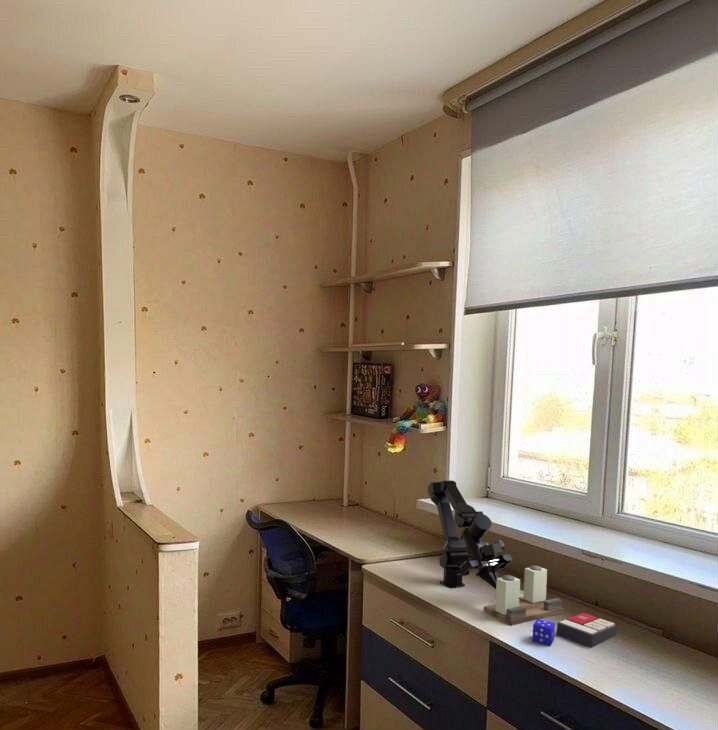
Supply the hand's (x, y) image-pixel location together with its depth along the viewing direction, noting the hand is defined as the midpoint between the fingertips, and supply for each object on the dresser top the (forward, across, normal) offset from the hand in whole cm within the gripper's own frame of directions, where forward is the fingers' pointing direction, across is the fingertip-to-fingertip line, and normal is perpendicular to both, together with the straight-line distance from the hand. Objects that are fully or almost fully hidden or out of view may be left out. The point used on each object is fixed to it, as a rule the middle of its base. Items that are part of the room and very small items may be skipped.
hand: (498, 589), depth 199 cm
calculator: (+22, +12, -12) cm, 28 cm away
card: (0, +19, +10) cm, 22 cm away
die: (+20, -3, -10) cm, 23 cm away
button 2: (+4, +16, +3) cm, 17 cm away
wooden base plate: (+8, +8, +2) cm, 11 cm away
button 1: (+7, 0, +1) cm, 7 cm away
